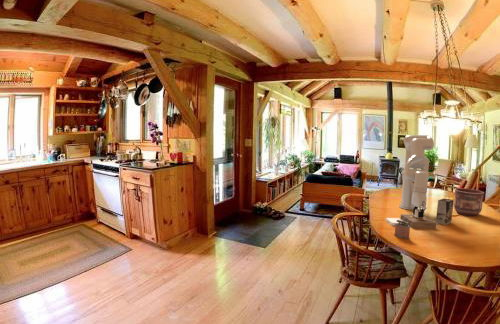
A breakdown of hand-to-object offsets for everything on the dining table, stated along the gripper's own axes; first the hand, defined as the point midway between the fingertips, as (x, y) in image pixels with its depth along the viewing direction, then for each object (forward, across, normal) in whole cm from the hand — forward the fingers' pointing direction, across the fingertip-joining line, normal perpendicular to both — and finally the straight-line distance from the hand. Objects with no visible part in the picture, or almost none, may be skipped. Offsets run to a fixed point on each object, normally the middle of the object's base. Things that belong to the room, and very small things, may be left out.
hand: (418, 215), depth 184 cm
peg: (+6, 0, 0) cm, 6 cm away
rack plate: (+6, 0, 0) cm, 6 cm away
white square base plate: (+6, 0, -14) cm, 16 cm away
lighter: (+6, +24, -22) cm, 33 cm away
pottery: (+6, -27, +50) cm, 58 cm away
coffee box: (+6, -4, +20) cm, 21 cm away
